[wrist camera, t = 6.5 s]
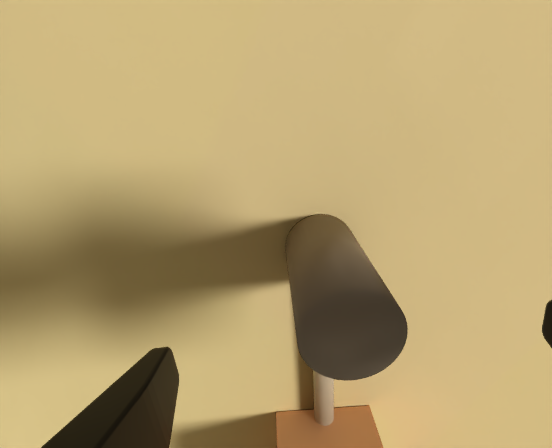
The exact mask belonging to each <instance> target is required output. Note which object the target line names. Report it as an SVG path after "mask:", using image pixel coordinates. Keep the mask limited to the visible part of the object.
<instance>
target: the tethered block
mask: <svg viewBox="0 0 552 448" xmlns="http://www.w3.org/2000/svg"><path fill="white" fill-rule="evenodd" d="M285 250H286V258H287V266H288V273H289V281H290V289H291V297H292V305H293V313H294V321H295V329H296V336H297V344H298V349H299V352H300V355H301V357H302V358H303V360H304V361H305V363H306V364H307V365H308V366H309V367H310V368H311V369H313V384H314V409H313V410H298V411H284V412H276V427H277V448H383V445H382V442H381V439H380V436H379V433H378V430H377V427H376V424H375V421H374V418H373V415H372V412H371V409H370V406H356V407H341V408H334V379H337V380H357V379H362V378H366V377H369V376H372V375H374V374H377V373H379V372H380V371H382V370H384V369H385V368H386V367H388V366H389V365H390V364H391V363H392V362H394V361H395V359H396V358H397V357H398V356H399V354H400V353H401V351H402V349H403V347H404V345H405V342H406V339H407V322H406V318H405V316H404V314H403V312H402V310H401V308H400V307H399V305H398V304H397V302H396V301H395V299H394V298H393V296H392V294H391V293H390V291H389V290H388V288H387V287H386V285H385V284H384V282H383V280H382V279H381V277H380V276H379V274H378V273H377V271H376V269H375V268H374V266H373V265H372V263H371V262H370V260H369V259H368V257H367V255H366V254H365V252H364V251H363V249H362V248H361V246H360V245H359V243H358V241H357V240H356V238H355V237H354V235H353V234H352V232H351V231H350V229H349V228H348V226H347V225H346V224H345V223H344V222H343V221H341V220H340V219H338V218H336V217H334V216H330V215H325V214H318V215H312V216H309V217H306V218H304V219H302V220H301V221H299V222H298V223H297V224H296V225H295V226H294V227H293V228H292V229H291V231H290V232H289V234H288V237H287V240H286V245H285Z"/></svg>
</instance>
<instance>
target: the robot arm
mask: <svg viewBox="0 0 552 448" xmlns="http://www.w3.org/2000/svg"><path fill="white" fill-rule="evenodd" d="M542 333H543V336H544V338H545V340H546V341H547V342H548V344H549V345H550V346H551V348H552V300H550V301H549V302H548V303H547V305H546V309H545V314H544V320H543V325H542ZM178 386H179V373H178V370H177V366H176V363H175V359H174V356H173V352H172V350H171V349H170V348H169V347H162V348H154V349H152V350H150V351H149V352H148V353H147V354H146V355H145V356H144V357H142V358H141V359H140V360H139V361H138V362H137V363H136V364H135V365H133V366H132V367H131V368H130V369H129V370H128V371H127V372H126V373H124V374H123V375H122V376H121V377H120V378H119V379H118V380H117V381H115V382H114V383H113V384H112V385H111V386H110V387H109V388H108V389H106V390H105V391H104V392H103V393H102V394H101V395H100V396H99V397H97V398H96V399H95V400H94V401H93V402H92V403H91V404H90V405H88V406H87V407H86V408H85V409H84V410H83V411H82V412H81V413H79V414H78V415H77V416H76V417H75V418H74V419H73V420H72V421H70V422H69V423H68V424H67V425H66V426H65V427H64V428H63V429H61V430H60V431H59V432H58V433H57V434H56V435H55V436H53V437H52V438H51V439H50V440H49V441H48V442H47V443H46V444H44V445H43V446H42V447H41V448H169V445H170V439H171V433H172V426H173V419H174V413H175V406H176V399H177V393H178Z"/></svg>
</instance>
